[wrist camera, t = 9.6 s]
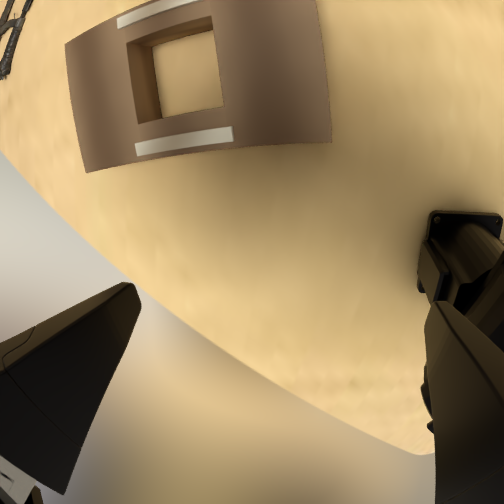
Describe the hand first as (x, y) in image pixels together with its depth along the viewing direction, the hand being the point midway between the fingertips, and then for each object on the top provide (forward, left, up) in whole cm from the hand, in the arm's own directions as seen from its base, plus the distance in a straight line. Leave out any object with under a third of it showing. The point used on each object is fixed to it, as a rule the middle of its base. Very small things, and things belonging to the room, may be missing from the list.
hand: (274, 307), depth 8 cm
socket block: (+6, -8, -12) cm, 16 cm away
